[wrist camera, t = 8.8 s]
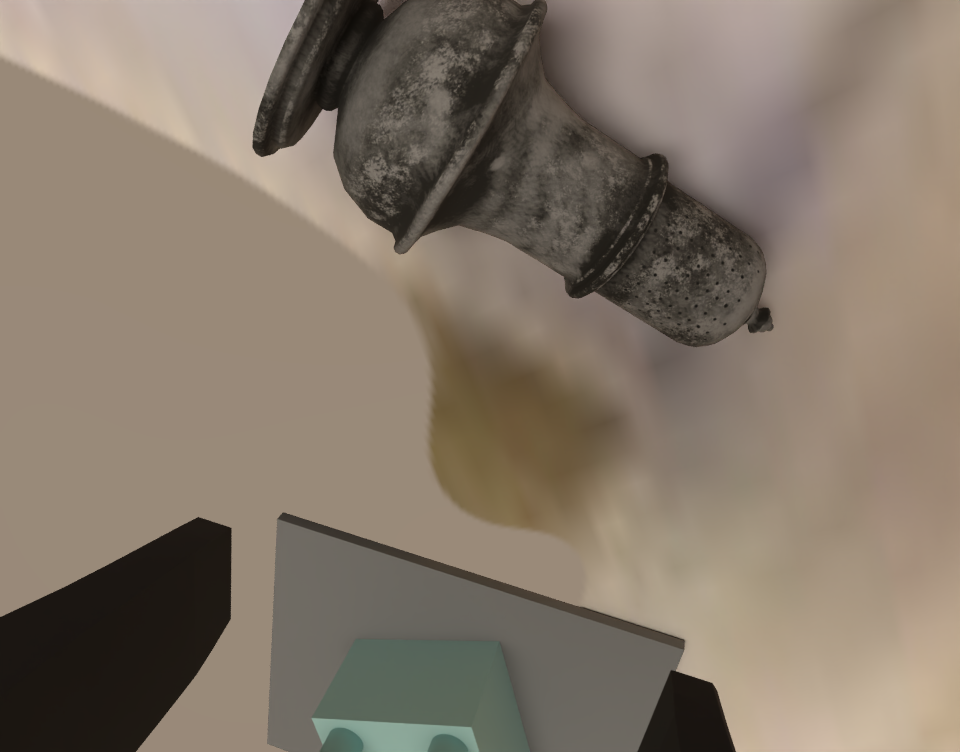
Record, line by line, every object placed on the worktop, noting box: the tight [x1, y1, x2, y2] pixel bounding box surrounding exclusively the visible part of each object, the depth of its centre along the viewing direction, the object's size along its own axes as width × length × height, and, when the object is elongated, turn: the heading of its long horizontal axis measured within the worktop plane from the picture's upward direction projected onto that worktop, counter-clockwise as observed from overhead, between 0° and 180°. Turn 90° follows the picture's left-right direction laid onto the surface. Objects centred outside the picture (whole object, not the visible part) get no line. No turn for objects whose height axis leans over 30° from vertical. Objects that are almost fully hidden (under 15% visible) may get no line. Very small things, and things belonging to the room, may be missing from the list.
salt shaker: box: [253, 0, 774, 347], centre depth 16 cm, size 6×6×12 cm
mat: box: [267, 513, 684, 752], centre depth 27 cm, size 14×12×1 cm
